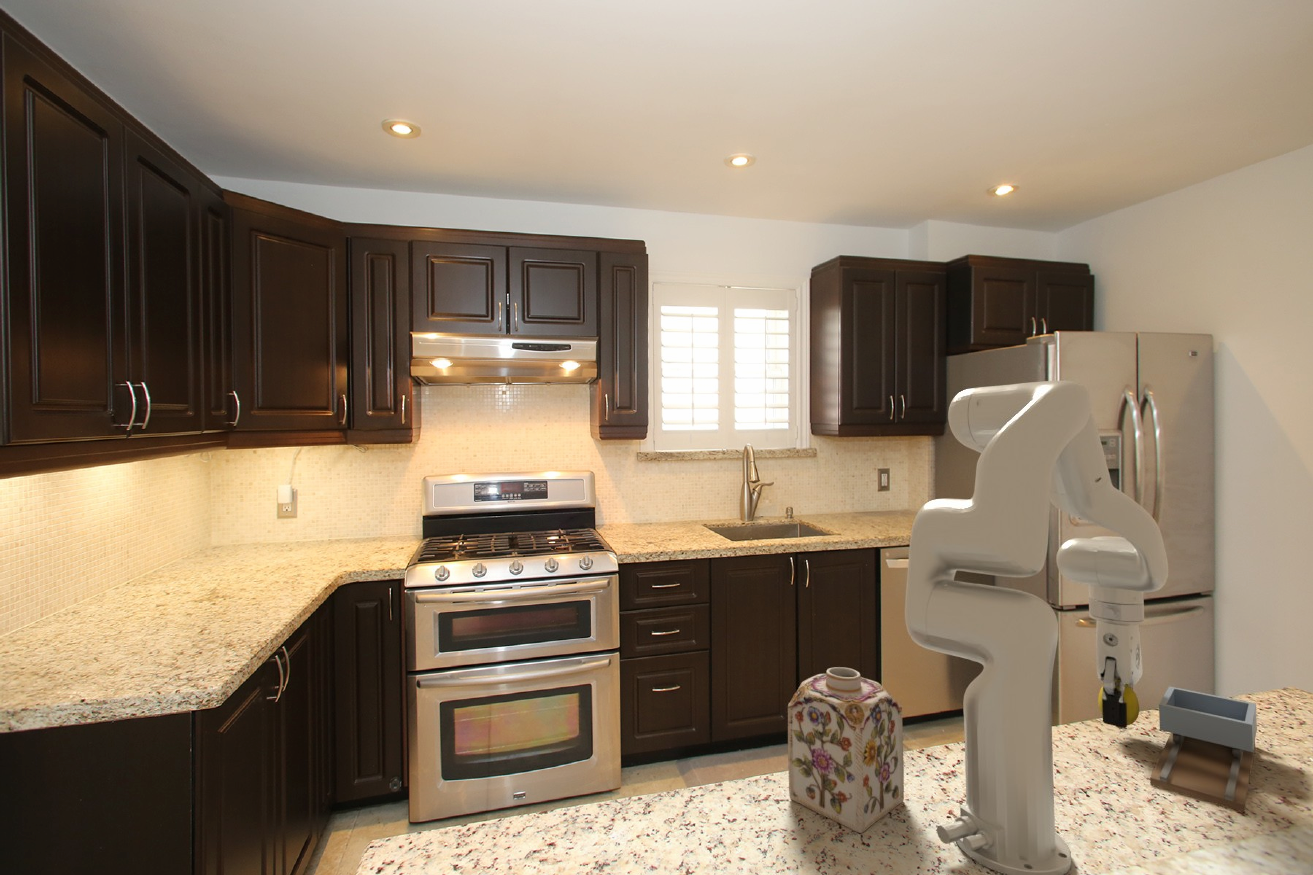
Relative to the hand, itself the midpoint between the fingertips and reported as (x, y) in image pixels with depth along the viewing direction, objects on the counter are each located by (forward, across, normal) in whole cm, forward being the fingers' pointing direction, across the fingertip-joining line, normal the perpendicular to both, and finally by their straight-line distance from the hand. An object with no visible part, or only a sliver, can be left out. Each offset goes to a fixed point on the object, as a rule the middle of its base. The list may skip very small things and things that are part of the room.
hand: (1118, 718), depth 106 cm
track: (+3, -1, -11) cm, 12 cm away
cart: (+2, +4, -11) cm, 12 cm away
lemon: (+2, 0, 0) cm, 2 cm away
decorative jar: (+5, -48, +23) cm, 54 cm away
